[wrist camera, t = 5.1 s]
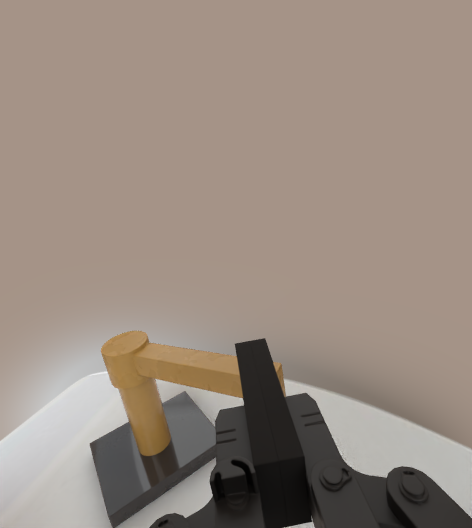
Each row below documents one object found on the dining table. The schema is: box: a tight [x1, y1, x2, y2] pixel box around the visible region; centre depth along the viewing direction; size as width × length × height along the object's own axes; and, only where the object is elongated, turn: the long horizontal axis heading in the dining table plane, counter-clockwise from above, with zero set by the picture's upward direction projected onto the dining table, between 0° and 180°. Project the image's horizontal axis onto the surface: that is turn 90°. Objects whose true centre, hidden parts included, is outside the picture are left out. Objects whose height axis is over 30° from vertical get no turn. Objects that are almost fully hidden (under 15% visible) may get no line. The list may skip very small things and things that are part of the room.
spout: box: [101, 331, 286, 398], centre depth 28 cm, size 18×4×5 cm, turn 64°
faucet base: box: [90, 378, 216, 528], centre depth 33 cm, size 12×10×10 cm
